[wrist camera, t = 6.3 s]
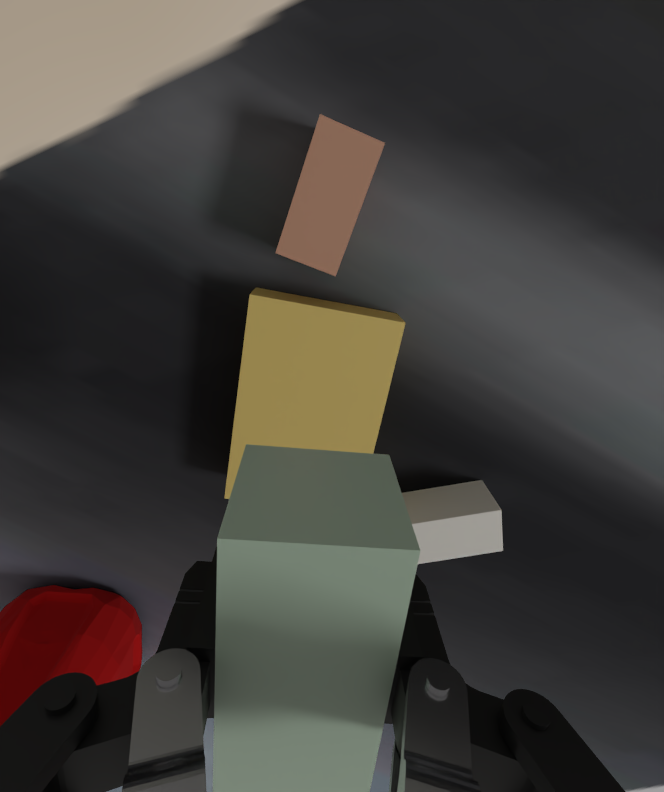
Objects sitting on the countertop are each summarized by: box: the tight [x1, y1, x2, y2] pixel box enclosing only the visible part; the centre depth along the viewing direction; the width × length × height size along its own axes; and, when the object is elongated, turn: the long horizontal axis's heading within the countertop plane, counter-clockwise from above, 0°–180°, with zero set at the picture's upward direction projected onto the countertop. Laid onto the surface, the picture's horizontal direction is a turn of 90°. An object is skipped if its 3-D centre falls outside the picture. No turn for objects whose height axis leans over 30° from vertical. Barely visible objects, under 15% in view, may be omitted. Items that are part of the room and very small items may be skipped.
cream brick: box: [402, 480, 503, 564], centre depth 29 cm, size 6×3×4 cm, turn 99°
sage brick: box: [213, 444, 420, 792], centre depth 12 cm, size 4×8×4 cm, turn 174°
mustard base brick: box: [225, 288, 405, 499], centre depth 26 cm, size 8×12×3 cm, turn 169°
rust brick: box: [276, 114, 385, 276], centre depth 22 cm, size 6×3×4 cm, turn 159°
